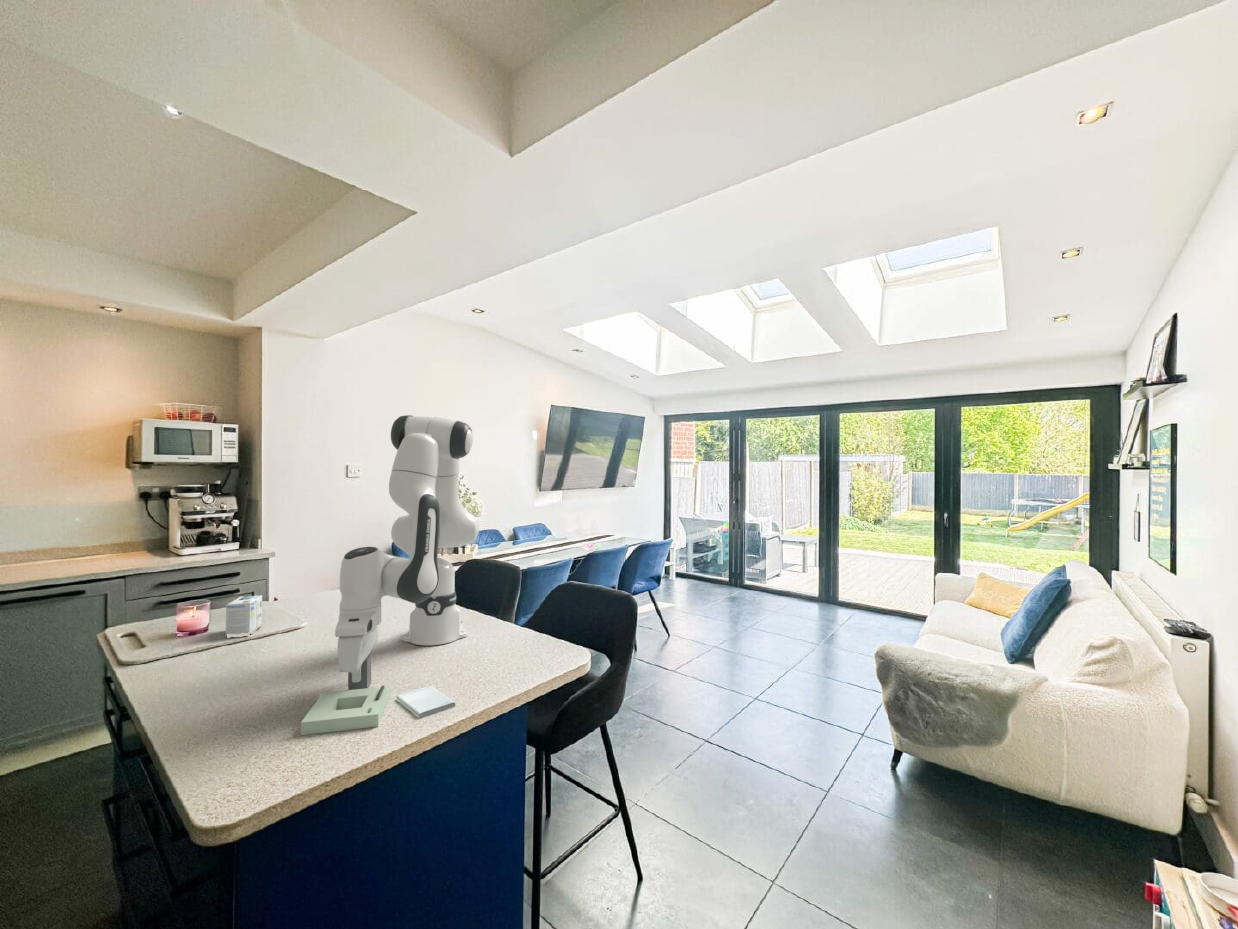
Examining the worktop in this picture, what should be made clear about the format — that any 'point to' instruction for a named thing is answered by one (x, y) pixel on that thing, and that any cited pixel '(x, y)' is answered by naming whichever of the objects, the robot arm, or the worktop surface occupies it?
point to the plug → (366, 676)
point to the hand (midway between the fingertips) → (360, 676)
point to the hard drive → (425, 701)
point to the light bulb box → (243, 614)
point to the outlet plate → (347, 710)
